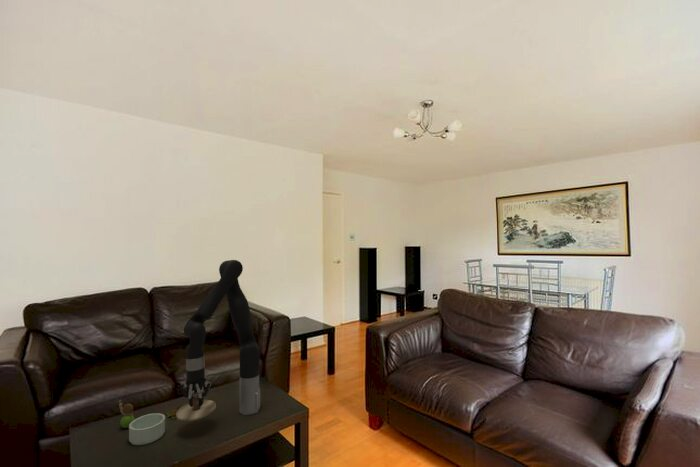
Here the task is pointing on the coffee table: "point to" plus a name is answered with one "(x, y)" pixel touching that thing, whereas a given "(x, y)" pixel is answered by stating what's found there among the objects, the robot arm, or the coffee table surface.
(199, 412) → the lid
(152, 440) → the bowl
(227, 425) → the coffee table surface
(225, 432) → the coffee table surface
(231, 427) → the coffee table surface
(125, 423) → the snail figurine
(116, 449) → the coffee table surface
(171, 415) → the lily flower
